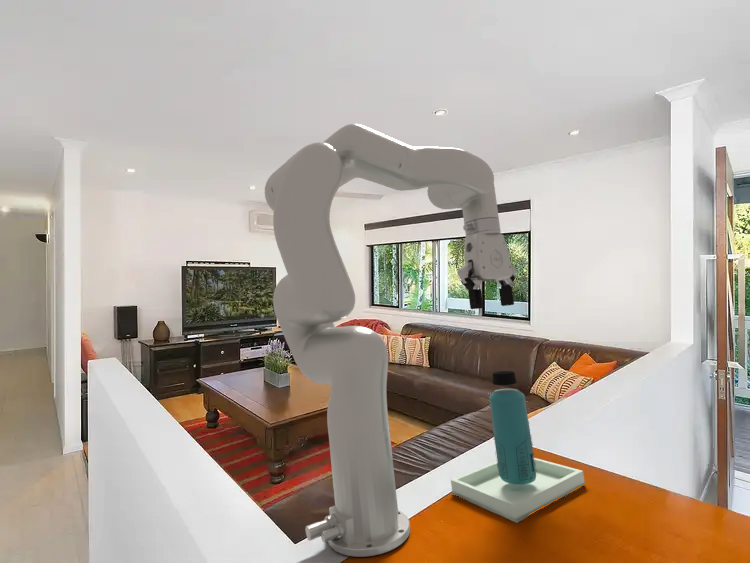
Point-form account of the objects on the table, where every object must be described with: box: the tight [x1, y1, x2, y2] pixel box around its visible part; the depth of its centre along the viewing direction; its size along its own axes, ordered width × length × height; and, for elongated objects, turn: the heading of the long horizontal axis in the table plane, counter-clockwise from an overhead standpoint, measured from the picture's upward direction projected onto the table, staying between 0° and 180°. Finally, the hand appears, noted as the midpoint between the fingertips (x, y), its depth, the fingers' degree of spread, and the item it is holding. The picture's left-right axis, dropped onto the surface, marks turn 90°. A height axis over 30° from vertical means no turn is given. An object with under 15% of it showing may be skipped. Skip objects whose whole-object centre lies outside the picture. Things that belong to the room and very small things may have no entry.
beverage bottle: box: [488, 370, 537, 484], centre depth 72 cm, size 6×7×20 cm
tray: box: [450, 457, 586, 524], centre depth 71 cm, size 18×14×2 cm
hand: (492, 307), depth 88 cm, fingers open, 9 cm apart
